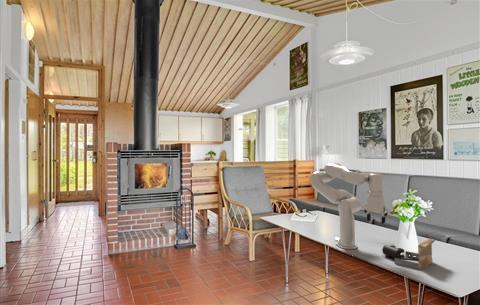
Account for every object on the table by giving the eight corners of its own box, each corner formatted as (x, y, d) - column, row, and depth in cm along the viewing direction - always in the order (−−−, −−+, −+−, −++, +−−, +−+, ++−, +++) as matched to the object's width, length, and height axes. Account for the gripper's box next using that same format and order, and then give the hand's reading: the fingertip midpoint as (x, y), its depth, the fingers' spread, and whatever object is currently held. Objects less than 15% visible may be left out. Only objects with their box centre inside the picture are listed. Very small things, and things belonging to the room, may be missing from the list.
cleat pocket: (394, 263, 170) (394, 258, 170) (406, 256, 183) (406, 251, 183) (418, 269, 161) (418, 263, 161) (428, 260, 174) (428, 255, 174)
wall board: (418, 269, 161) (418, 245, 162) (428, 261, 174) (428, 238, 174) (425, 271, 159) (424, 246, 159) (435, 262, 171) (434, 239, 171)
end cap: (382, 256, 183) (382, 245, 183) (391, 254, 185) (391, 243, 185) (395, 261, 173) (395, 250, 173) (405, 260, 176) (404, 248, 176)
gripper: (359, 192, 191) (359, 220, 191) (388, 195, 178) (388, 225, 178) (364, 191, 196) (364, 218, 196) (392, 194, 183) (393, 223, 183)
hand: (375, 221), depth 187 cm, fingers open, 8 cm apart
